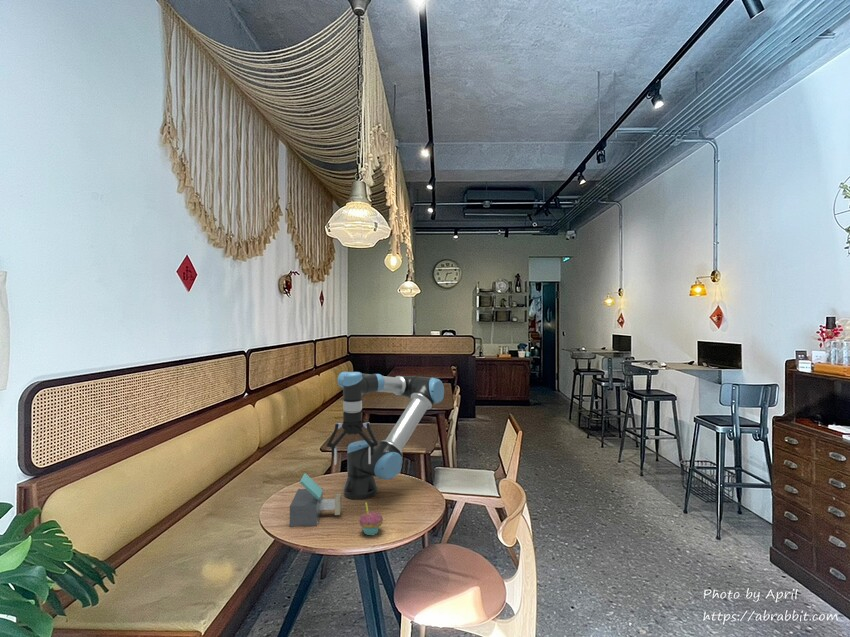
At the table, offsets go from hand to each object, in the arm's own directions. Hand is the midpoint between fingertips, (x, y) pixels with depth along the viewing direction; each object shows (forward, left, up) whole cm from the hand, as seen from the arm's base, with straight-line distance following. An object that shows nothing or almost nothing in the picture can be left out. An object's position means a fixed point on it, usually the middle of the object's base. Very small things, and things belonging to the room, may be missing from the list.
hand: (352, 463), depth 172 cm
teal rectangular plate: (+17, 0, -9) cm, 19 cm away
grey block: (+18, 0, -21) cm, 28 cm away
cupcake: (-8, +15, -21) cm, 27 cm away
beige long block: (+12, 0, -19) cm, 23 cm away
